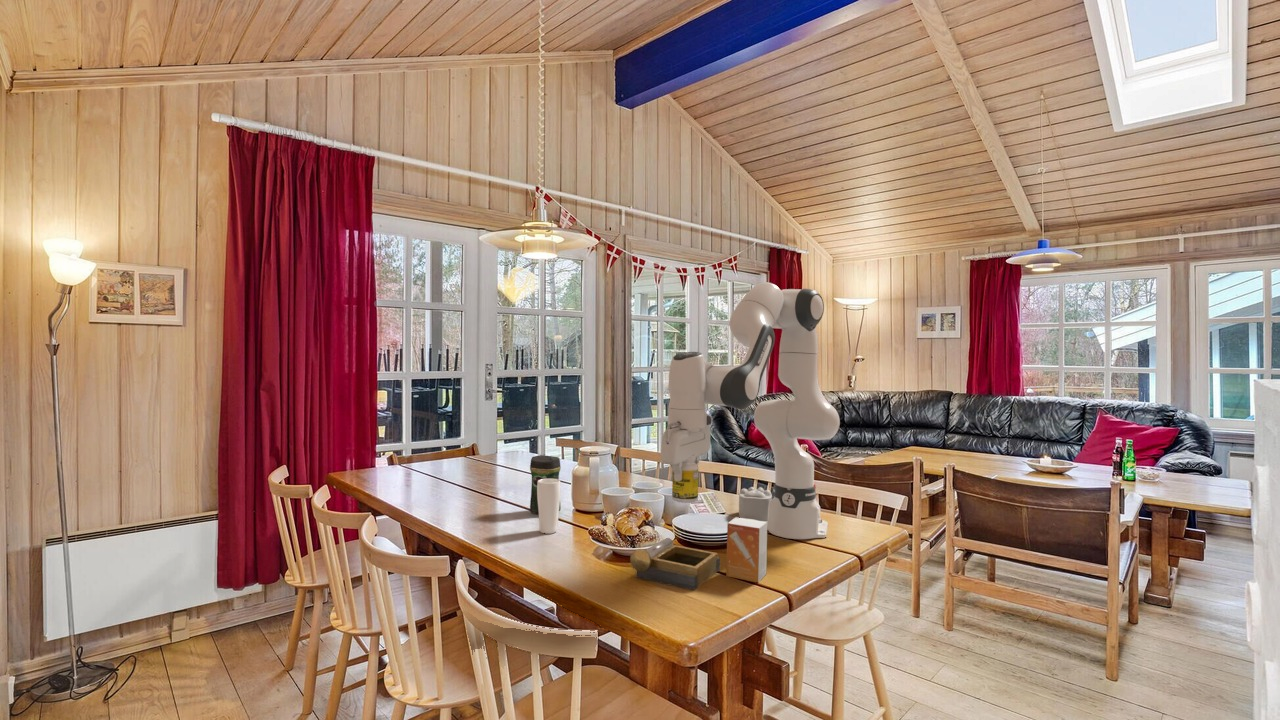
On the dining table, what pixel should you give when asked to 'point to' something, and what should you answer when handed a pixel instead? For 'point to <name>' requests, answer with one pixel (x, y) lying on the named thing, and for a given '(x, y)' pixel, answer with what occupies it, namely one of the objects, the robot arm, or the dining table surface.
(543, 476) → the coffee jar
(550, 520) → the drinking glass
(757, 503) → the lumpy-topped squat cylinder
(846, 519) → the dining table surface
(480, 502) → the dining table surface
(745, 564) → the small box
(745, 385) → the robot arm
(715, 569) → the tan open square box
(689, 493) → the pill bottle
